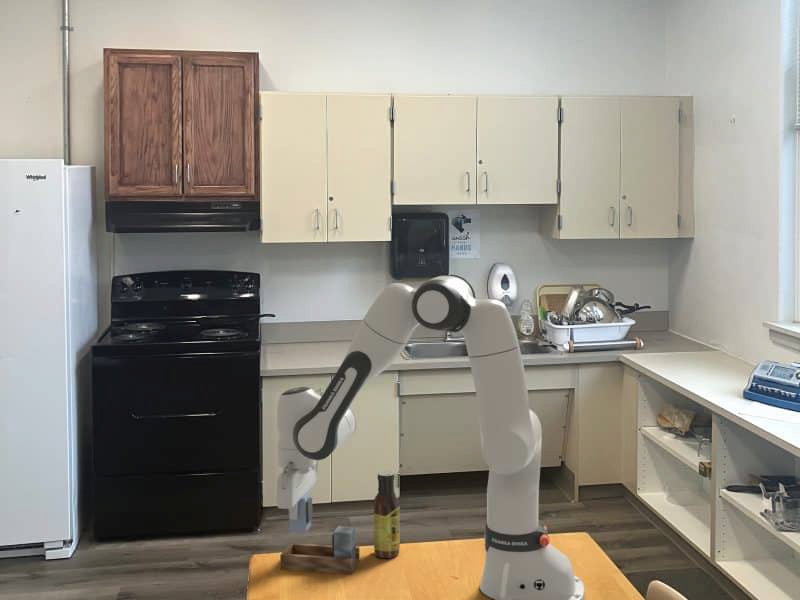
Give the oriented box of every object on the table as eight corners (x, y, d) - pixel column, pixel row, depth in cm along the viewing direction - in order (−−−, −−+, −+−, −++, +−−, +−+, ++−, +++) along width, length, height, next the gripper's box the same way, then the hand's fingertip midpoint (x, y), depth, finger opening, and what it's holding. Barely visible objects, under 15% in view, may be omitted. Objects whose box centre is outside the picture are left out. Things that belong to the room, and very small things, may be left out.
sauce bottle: (396, 560, 207) (395, 478, 205) (371, 558, 208) (369, 477, 206) (402, 549, 213) (401, 470, 211) (377, 547, 214) (376, 469, 212)
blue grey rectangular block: (313, 525, 206) (312, 492, 205) (308, 532, 202) (307, 498, 201) (294, 524, 207) (293, 491, 206) (289, 531, 203) (288, 497, 202)
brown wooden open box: (359, 561, 207) (358, 524, 206) (351, 574, 199) (351, 536, 198) (290, 556, 210) (289, 520, 209) (280, 569, 202) (279, 531, 201)
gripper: (296, 471, 192) (297, 531, 193) (322, 445, 212) (323, 500, 213) (268, 469, 193) (270, 529, 195) (297, 444, 213) (298, 499, 215)
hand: (298, 514), depth 204 cm, fingers closed on blue grey rectangular block, 4 cm apart
